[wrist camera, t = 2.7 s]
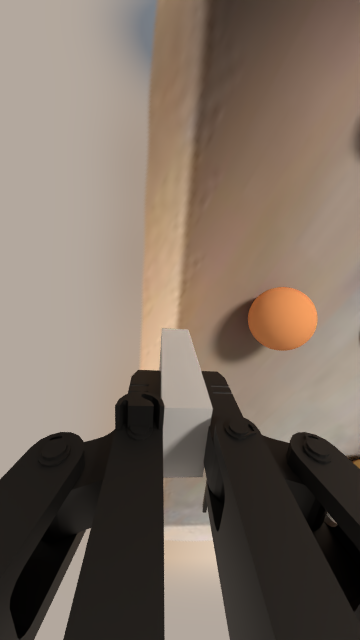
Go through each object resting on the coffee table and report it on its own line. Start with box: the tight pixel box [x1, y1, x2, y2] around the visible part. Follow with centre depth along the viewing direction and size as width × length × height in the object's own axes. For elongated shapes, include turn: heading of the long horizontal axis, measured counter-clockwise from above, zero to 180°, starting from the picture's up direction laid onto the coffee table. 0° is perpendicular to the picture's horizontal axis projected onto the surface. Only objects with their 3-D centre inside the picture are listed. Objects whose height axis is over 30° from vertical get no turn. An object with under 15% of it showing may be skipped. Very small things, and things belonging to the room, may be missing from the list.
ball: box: [248, 287, 317, 350], centre depth 20 cm, size 6×6×6 cm
